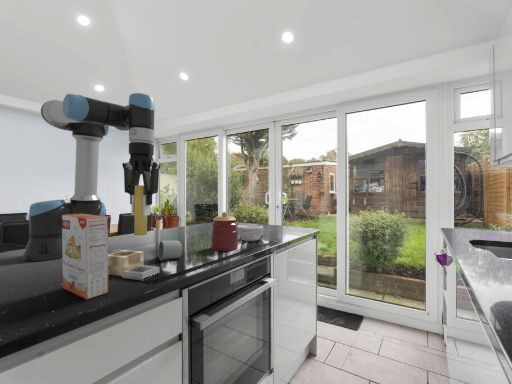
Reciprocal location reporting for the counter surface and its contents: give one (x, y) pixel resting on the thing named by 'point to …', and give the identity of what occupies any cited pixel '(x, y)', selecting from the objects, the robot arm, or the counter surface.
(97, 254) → the cracker box
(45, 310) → the counter surface
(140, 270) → the grey mount plate
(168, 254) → the ceramic mug
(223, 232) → the canister
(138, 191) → the ochre pin
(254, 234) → the paper bowls
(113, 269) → the beech socket block
